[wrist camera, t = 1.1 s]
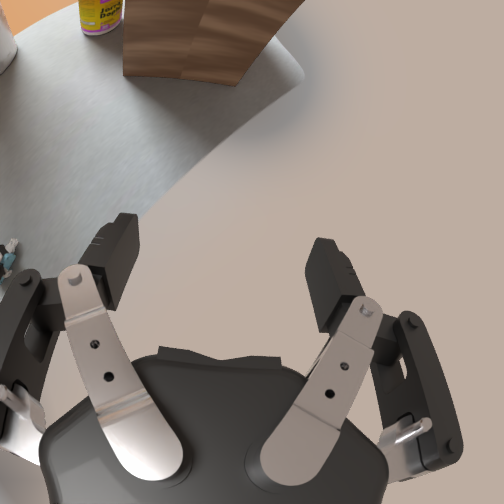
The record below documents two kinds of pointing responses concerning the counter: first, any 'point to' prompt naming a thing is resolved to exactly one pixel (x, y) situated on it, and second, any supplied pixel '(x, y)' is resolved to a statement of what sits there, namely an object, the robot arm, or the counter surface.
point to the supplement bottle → (99, 15)
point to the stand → (199, 37)
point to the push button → (7, 258)
